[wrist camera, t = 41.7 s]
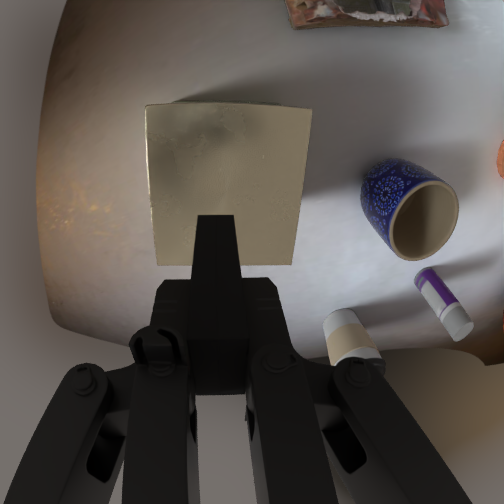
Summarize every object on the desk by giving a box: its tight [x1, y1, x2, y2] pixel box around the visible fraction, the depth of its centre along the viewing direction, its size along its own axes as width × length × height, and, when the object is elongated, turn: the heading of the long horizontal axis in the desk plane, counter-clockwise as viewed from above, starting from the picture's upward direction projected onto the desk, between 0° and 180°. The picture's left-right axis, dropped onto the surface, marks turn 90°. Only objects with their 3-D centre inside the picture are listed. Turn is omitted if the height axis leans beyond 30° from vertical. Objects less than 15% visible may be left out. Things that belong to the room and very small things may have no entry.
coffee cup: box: [323, 309, 386, 375], centre depth 48 cm, size 9×9×15 cm
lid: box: [145, 102, 313, 265], centre depth 24 cm, size 14×13×1 cm
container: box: [414, 267, 474, 341], centre depth 44 cm, size 5×5×15 cm
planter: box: [360, 158, 459, 261], centre depth 35 cm, size 11×11×11 cm
